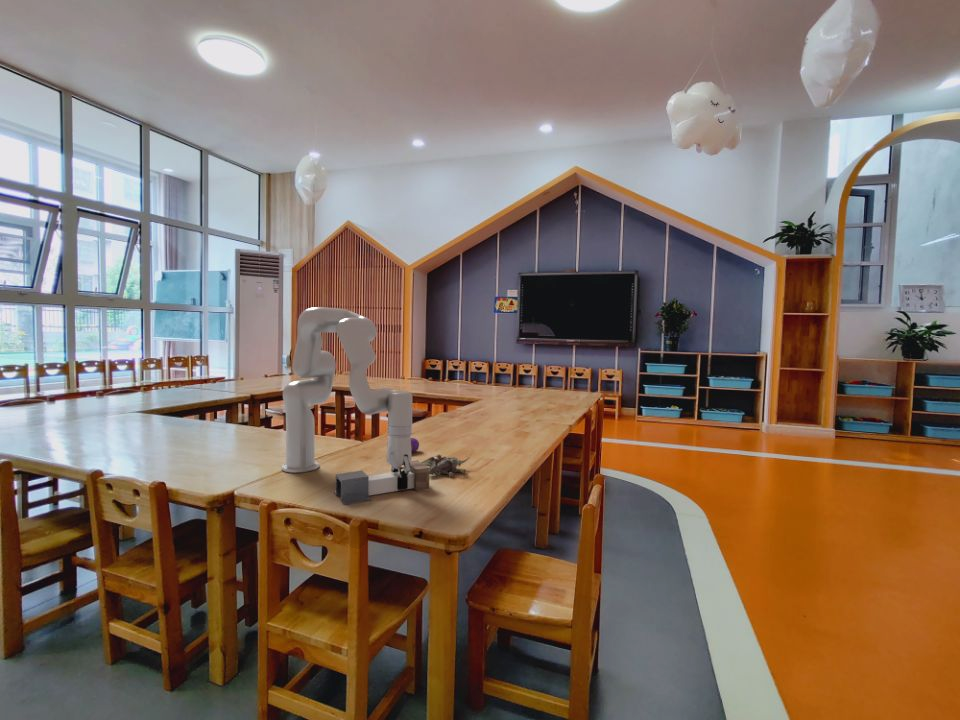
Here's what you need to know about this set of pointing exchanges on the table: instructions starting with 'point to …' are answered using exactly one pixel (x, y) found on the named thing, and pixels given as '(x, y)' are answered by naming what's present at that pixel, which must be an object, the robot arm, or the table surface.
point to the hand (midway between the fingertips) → (399, 486)
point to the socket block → (420, 475)
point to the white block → (387, 482)
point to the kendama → (414, 445)
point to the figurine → (444, 465)
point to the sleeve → (352, 487)
